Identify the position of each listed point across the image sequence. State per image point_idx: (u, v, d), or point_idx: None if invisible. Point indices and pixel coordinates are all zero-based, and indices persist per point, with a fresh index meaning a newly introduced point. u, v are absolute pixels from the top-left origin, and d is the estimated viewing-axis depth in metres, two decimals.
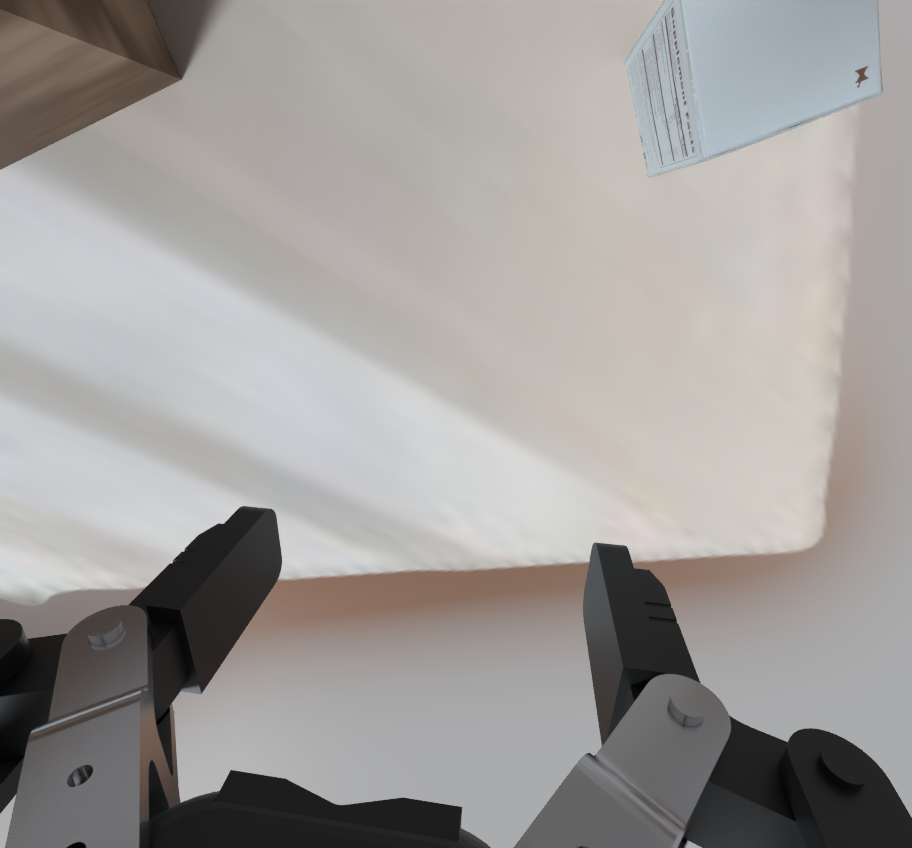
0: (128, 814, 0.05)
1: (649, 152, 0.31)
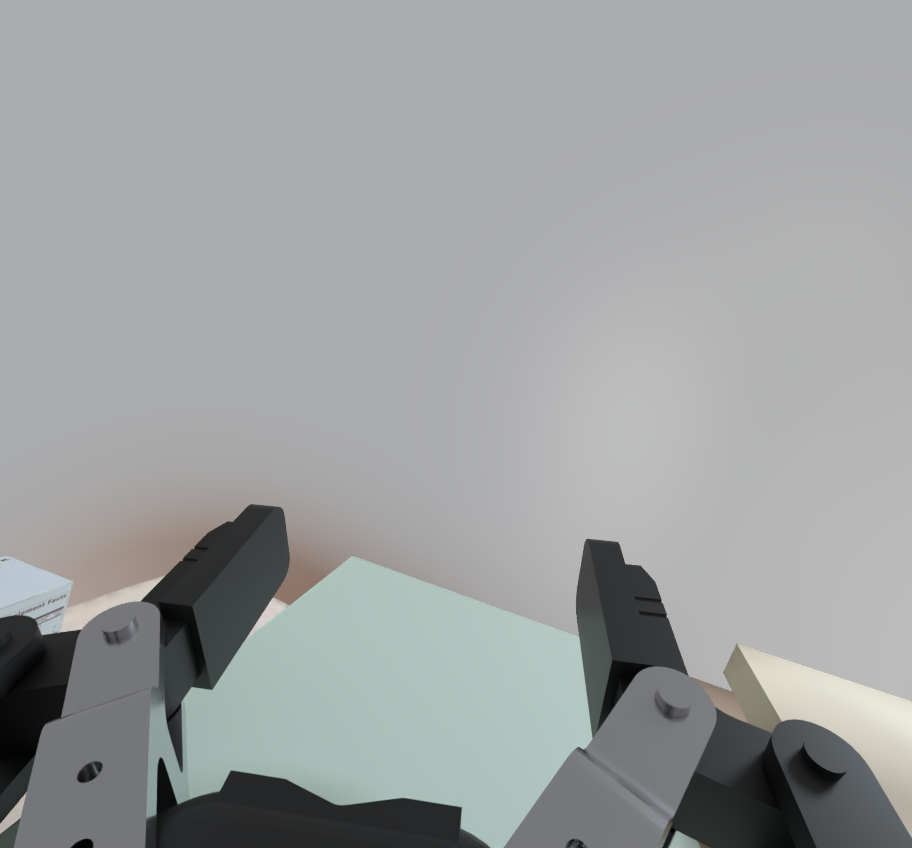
0: (135, 813, 0.05)
1: None
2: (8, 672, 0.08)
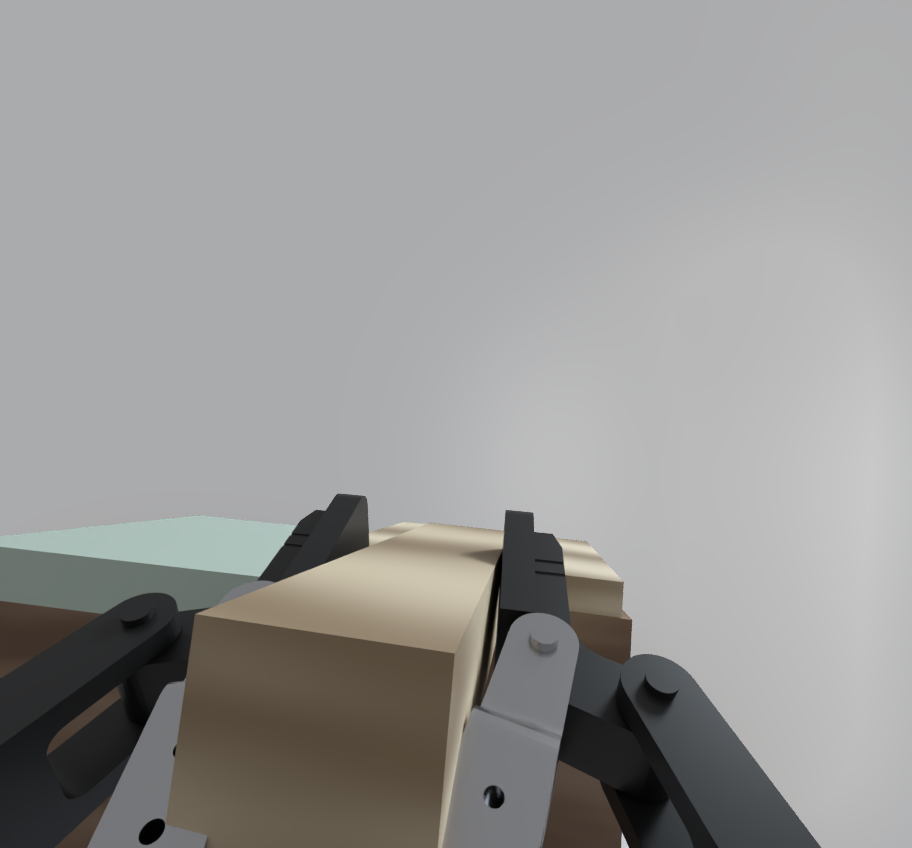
0: None
1: None
2: (158, 644, 0.08)
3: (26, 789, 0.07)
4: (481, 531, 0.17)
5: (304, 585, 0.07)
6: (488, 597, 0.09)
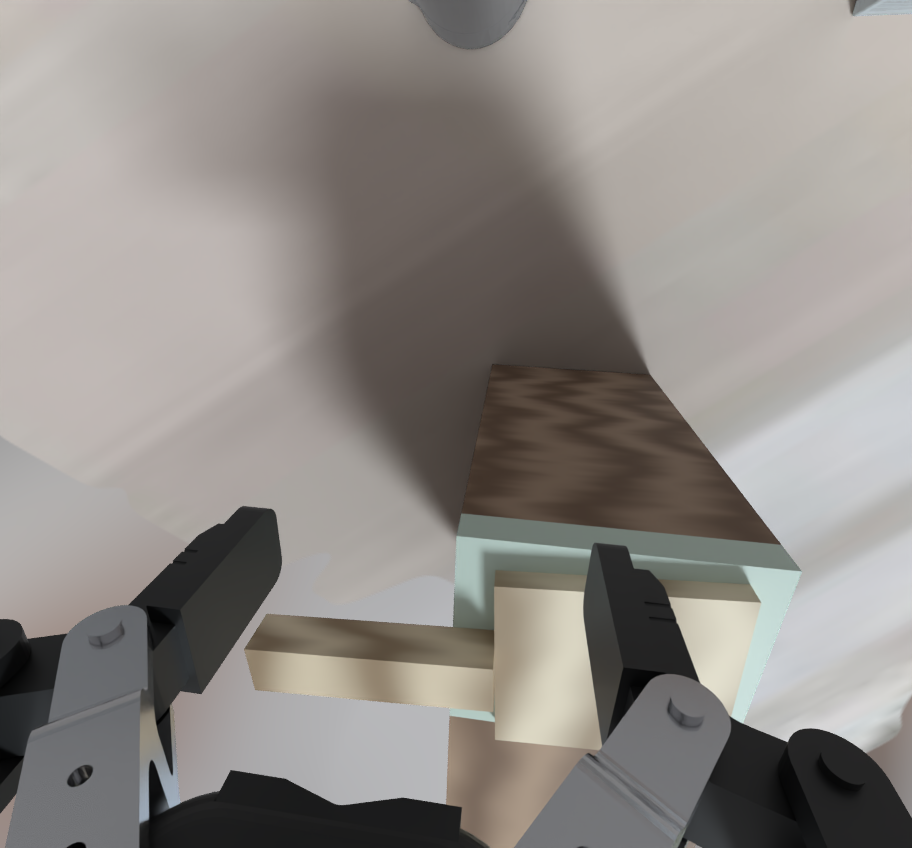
0: (128, 814, 0.05)
1: None
2: None
3: None
4: (472, 697, 0.25)
5: (279, 658, 0.26)
6: None
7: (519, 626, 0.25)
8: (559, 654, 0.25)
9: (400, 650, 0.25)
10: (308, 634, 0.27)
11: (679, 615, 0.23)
